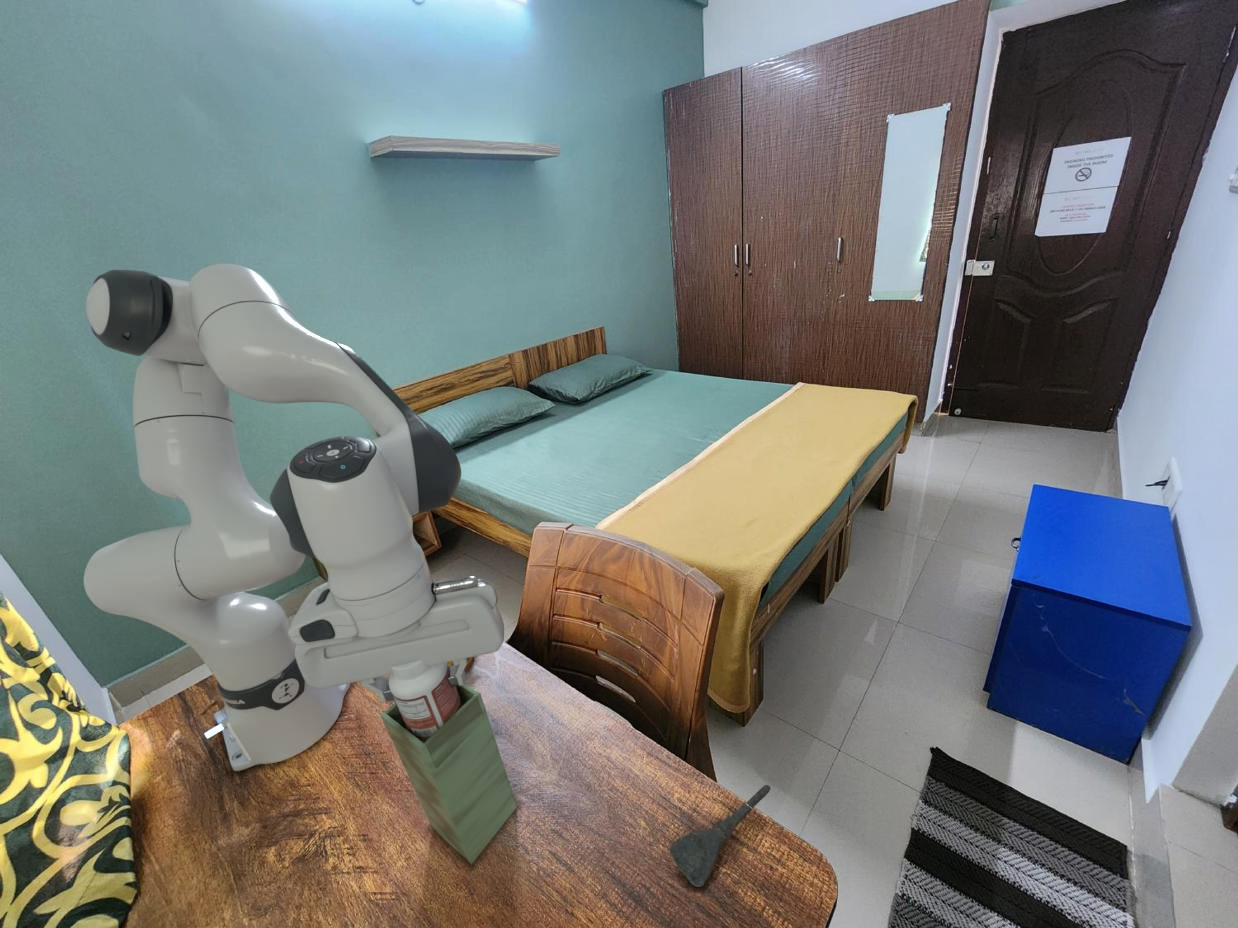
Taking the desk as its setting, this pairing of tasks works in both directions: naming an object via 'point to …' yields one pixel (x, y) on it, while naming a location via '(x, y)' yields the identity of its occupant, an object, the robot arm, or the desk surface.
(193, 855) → the desk surface
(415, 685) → the pill bottle
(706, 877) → the artifact
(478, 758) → the holder
